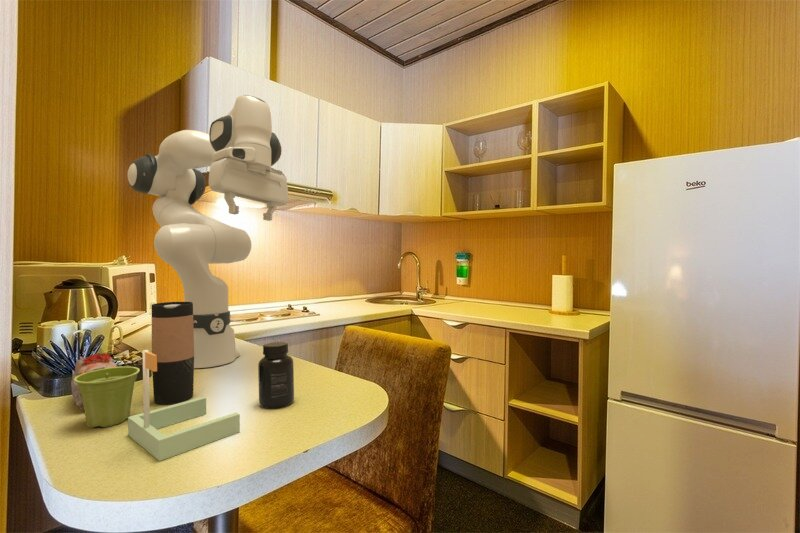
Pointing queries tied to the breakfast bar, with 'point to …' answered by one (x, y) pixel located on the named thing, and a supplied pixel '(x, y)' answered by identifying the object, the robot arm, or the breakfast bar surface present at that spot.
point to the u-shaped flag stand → (181, 441)
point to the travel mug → (173, 352)
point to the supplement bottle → (276, 376)
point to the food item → (86, 366)
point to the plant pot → (107, 394)
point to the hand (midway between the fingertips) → (251, 217)
